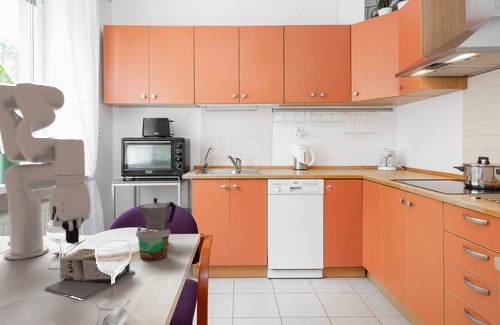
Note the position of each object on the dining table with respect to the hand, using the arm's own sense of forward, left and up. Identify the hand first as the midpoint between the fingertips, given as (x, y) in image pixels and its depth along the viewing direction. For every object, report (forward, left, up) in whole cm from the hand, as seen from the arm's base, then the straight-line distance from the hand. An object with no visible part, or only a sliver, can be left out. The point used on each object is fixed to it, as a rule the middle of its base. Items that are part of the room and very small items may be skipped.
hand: (72, 242), depth 91 cm
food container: (+11, +20, -10) cm, 25 cm away
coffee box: (-1, 0, -6) cm, 6 cm away
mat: (+8, 0, -10) cm, 13 cm away
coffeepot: (+2, +35, -10) cm, 36 cm away
